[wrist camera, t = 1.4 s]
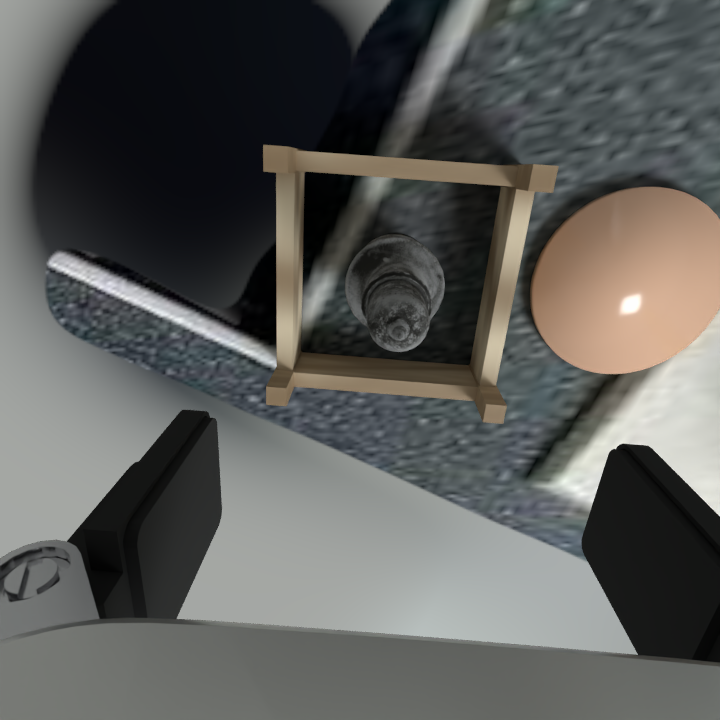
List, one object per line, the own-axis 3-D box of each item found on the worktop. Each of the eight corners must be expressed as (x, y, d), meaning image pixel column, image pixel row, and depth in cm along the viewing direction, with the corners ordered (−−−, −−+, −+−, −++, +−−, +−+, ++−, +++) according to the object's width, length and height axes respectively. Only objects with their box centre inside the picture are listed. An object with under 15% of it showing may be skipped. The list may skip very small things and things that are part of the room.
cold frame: (286, 149, 28) (262, 144, 22) (523, 166, 28) (558, 166, 22) (285, 365, 33) (266, 404, 28) (482, 380, 33) (502, 423, 28)
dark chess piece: (426, 324, 32) (449, 409, 21) (341, 308, 32) (320, 385, 20) (448, 238, 29) (488, 282, 18) (357, 220, 29) (342, 253, 18)
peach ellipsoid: (552, 179, 28) (557, 179, 27) (753, 193, 28) (763, 194, 27) (513, 362, 32) (516, 366, 32) (685, 375, 32) (692, 380, 32)
